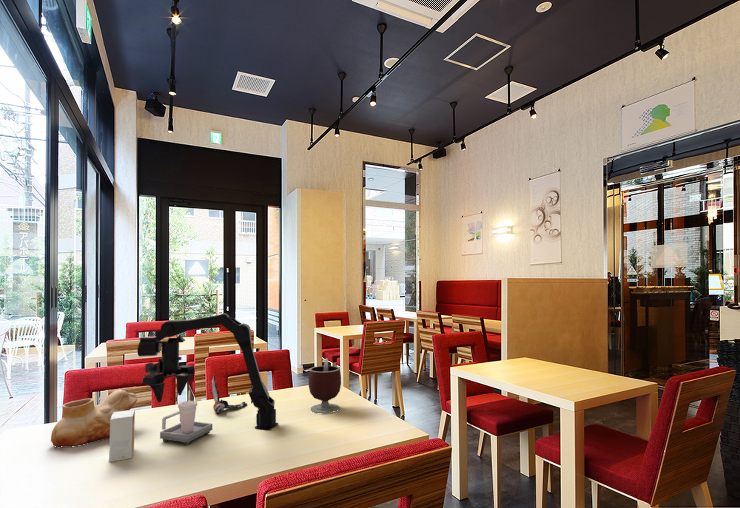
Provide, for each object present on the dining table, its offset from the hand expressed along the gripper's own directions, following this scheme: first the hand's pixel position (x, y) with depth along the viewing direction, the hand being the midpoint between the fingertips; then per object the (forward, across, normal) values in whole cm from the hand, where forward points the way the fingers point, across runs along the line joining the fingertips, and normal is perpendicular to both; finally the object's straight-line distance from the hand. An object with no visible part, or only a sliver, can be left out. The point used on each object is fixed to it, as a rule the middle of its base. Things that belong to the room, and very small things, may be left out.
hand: (169, 398), depth 148 cm
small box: (+13, +18, -1) cm, 22 cm away
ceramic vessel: (+13, +9, -25) cm, 30 cm away
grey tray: (+13, 0, +8) cm, 15 cm away
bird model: (+13, -31, +1) cm, 34 cm away
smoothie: (+11, 0, +8) cm, 14 cm away
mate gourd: (+13, -44, +41) cm, 62 cm away
